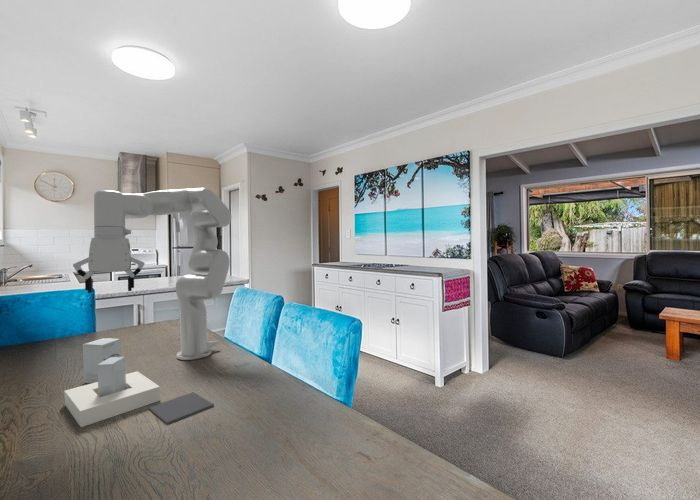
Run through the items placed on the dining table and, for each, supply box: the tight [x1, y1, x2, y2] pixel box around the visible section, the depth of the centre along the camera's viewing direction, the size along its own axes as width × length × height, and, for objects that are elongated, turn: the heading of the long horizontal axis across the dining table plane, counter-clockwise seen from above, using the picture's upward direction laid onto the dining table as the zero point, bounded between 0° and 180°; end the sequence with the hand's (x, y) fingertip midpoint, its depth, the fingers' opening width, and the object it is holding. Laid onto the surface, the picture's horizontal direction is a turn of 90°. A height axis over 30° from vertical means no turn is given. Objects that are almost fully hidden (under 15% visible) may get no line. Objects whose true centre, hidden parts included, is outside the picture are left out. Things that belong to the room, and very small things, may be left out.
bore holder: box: [64, 371, 161, 428], centre depth 97 cm, size 18×18×4 cm
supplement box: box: [82, 337, 122, 384], centre depth 114 cm, size 7×7×13 cm
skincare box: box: [97, 356, 127, 397], centre depth 97 cm, size 6×4×12 cm
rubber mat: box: [148, 391, 215, 425], centre depth 94 cm, size 12×12×1 cm
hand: (110, 291), depth 102 cm, fingers open, 9 cm apart
